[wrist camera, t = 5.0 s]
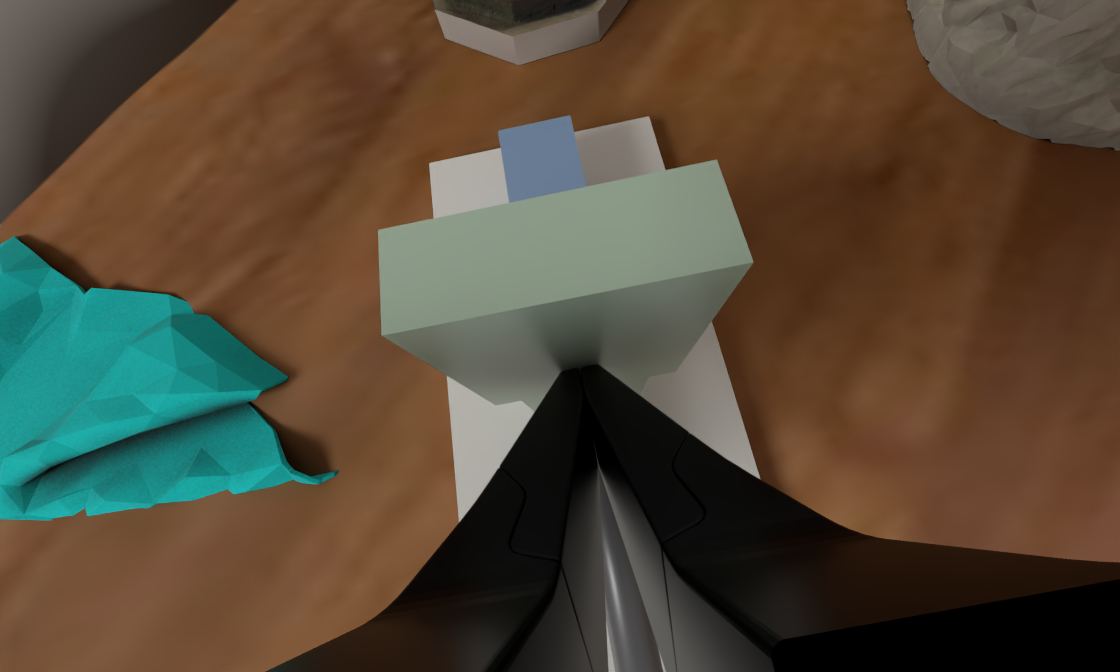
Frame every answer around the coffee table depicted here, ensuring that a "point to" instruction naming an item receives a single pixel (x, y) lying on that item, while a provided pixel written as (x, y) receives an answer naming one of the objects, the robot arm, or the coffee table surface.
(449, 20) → the bird statue
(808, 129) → the coffee table surface
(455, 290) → the sage green stepped block
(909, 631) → the robot arm
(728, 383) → the white board with rod
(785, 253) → the coffee table surface
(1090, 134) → the ceramic cottage
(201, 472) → the cloth
